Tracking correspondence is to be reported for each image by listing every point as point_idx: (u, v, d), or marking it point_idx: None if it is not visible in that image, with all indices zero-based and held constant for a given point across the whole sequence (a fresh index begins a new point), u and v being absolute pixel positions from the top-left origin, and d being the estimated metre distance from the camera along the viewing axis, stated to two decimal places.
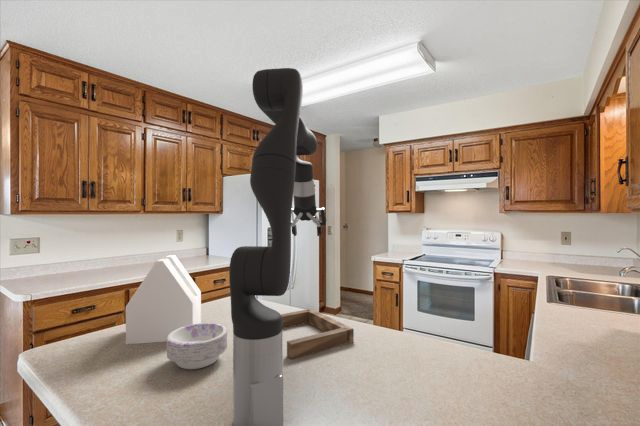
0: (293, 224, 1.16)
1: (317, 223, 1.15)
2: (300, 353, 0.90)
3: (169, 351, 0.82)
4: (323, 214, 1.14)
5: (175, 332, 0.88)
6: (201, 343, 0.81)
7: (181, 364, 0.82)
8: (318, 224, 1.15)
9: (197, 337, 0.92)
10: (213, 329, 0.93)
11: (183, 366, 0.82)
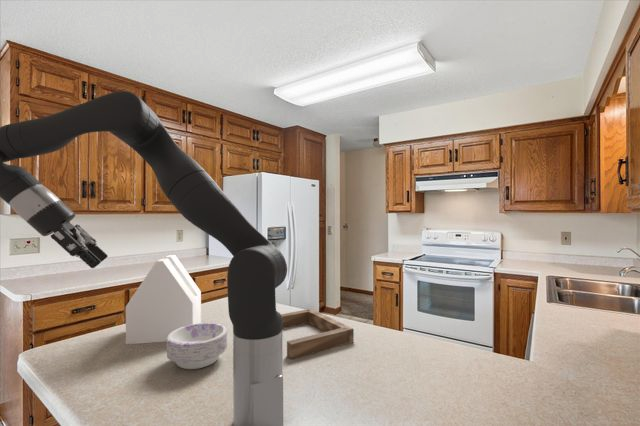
0: (85, 246, 0.72)
1: (92, 240, 0.79)
2: (300, 353, 0.90)
3: (169, 351, 0.82)
4: None
5: (175, 332, 0.88)
6: (201, 343, 0.81)
7: (181, 364, 0.82)
8: (93, 241, 0.80)
9: (197, 337, 0.92)
10: (213, 329, 0.93)
11: (183, 366, 0.82)
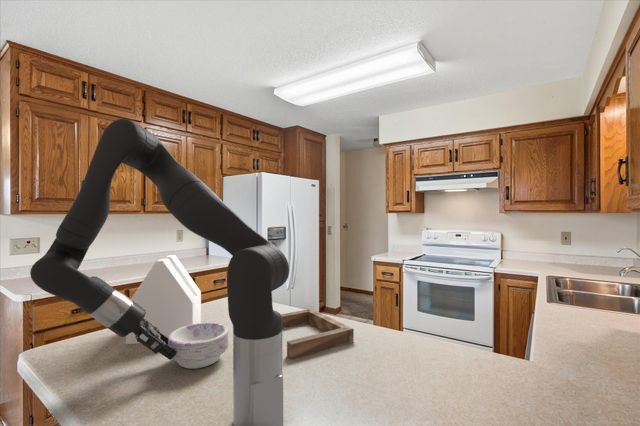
0: (162, 341, 0.79)
1: (156, 329, 0.86)
2: (300, 353, 0.90)
3: None
4: (145, 319, 0.87)
5: (177, 331, 0.89)
6: (202, 342, 0.81)
7: (182, 363, 0.83)
8: (157, 330, 0.86)
9: (199, 337, 0.92)
10: (214, 328, 0.93)
11: (184, 365, 0.83)
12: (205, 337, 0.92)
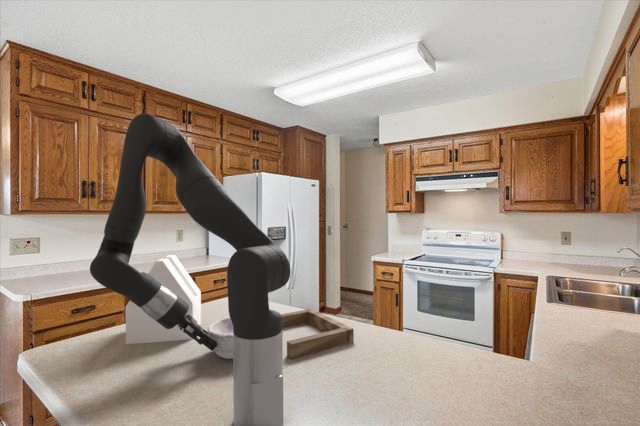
0: (205, 333, 0.84)
1: None
2: (300, 353, 0.90)
3: None
4: (185, 313, 0.92)
5: (214, 325, 0.94)
6: None
7: (222, 354, 0.88)
8: None
9: None
10: None
11: (224, 356, 0.88)
12: None
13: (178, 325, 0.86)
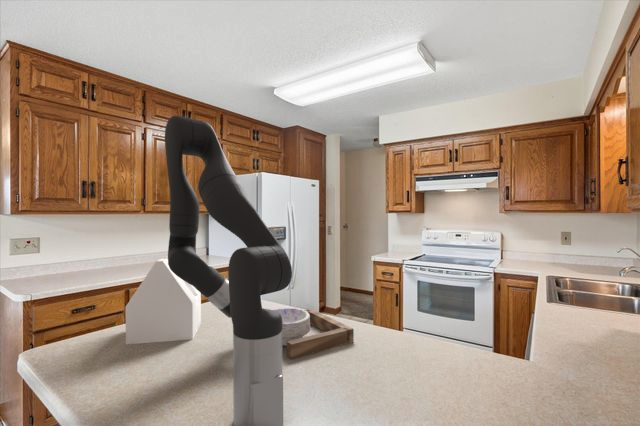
0: None
1: None
2: (300, 353, 0.90)
3: None
4: None
5: None
6: (295, 323, 0.95)
7: None
8: None
9: None
10: (294, 313, 1.07)
11: None
12: (286, 320, 1.07)
13: None
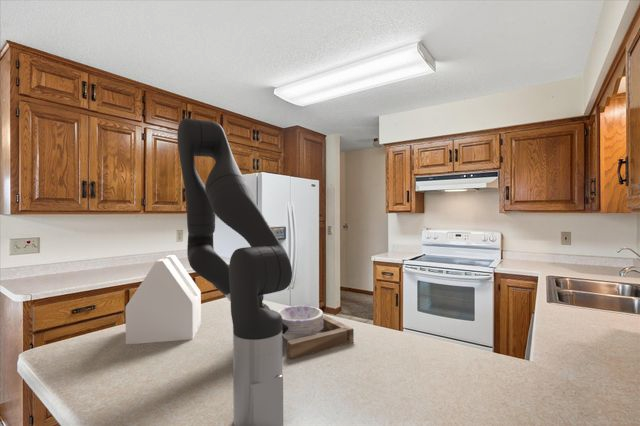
0: None
1: None
2: (300, 353, 0.90)
3: None
4: None
5: (279, 312, 1.05)
6: (309, 320, 0.98)
7: (291, 337, 0.99)
8: None
9: (295, 317, 1.09)
10: (307, 310, 1.10)
11: (292, 339, 0.99)
12: (300, 317, 1.09)
13: None
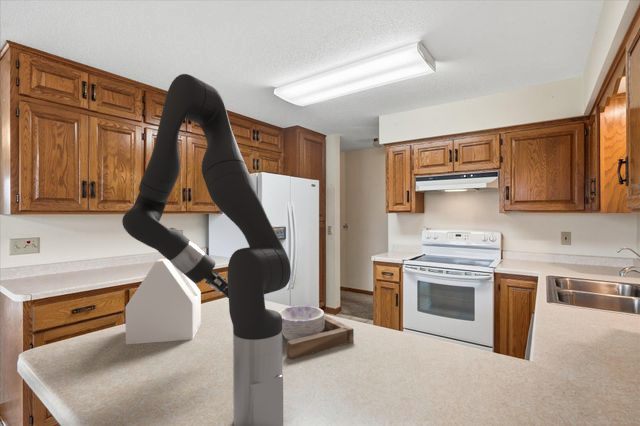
0: None
1: None
2: (300, 353, 0.90)
3: (283, 327, 0.99)
4: None
5: (281, 312, 1.05)
6: (310, 320, 0.98)
7: (292, 338, 0.99)
8: None
9: (296, 318, 1.09)
10: (308, 310, 1.10)
11: None
12: (301, 318, 1.09)
13: (205, 281, 0.90)
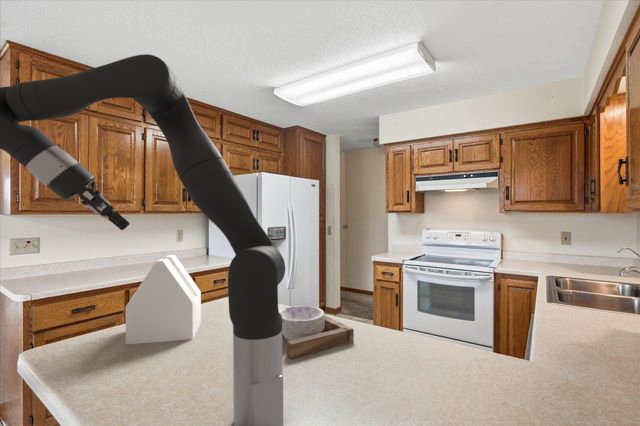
0: None
1: None
2: (300, 353, 0.90)
3: (283, 327, 0.99)
4: None
5: (281, 312, 1.05)
6: (310, 320, 0.98)
7: (292, 338, 0.99)
8: None
9: (296, 318, 1.09)
10: (308, 310, 1.10)
11: None
12: (301, 318, 1.09)
13: None
